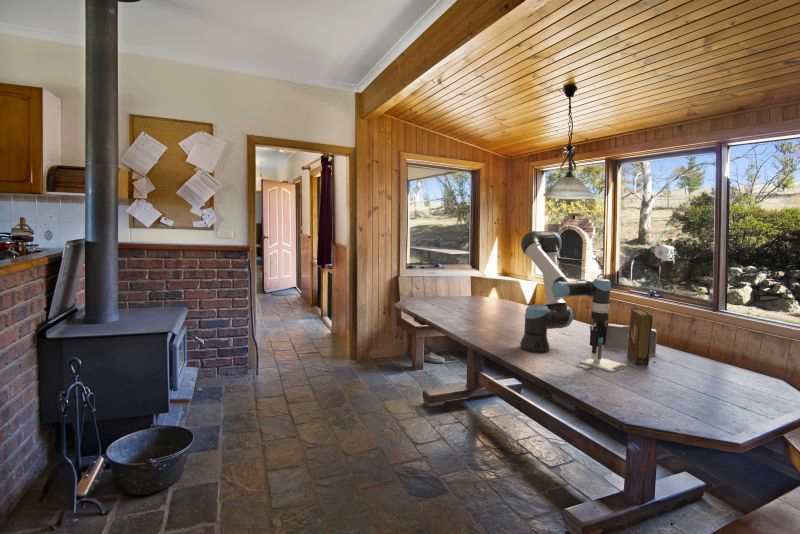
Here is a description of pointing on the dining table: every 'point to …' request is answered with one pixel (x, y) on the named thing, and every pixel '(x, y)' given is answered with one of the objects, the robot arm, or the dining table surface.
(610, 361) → the cream square framed board
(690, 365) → the dining table surface
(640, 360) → the book
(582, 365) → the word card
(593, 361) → the marker
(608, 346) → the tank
